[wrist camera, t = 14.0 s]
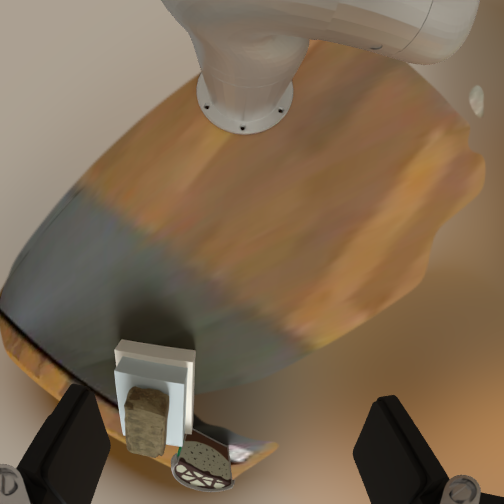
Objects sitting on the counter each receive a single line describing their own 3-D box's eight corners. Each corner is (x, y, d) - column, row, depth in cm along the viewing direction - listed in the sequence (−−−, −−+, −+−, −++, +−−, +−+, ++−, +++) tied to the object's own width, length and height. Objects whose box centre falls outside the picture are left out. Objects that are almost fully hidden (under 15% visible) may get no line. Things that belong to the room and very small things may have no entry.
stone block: (133, 432, 39) (126, 453, 34) (131, 380, 37) (120, 402, 32) (168, 440, 39) (163, 462, 35) (171, 389, 37) (165, 412, 32)
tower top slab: (122, 356, 40) (114, 370, 36) (187, 368, 41) (184, 384, 37) (128, 419, 43) (123, 435, 39) (185, 430, 44) (182, 446, 40)
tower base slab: (122, 337, 44) (114, 349, 40) (196, 348, 44) (193, 362, 41) (130, 409, 47) (124, 422, 43) (193, 419, 48) (191, 434, 44)
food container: (164, 436, 48) (155, 474, 38) (181, 421, 47) (174, 461, 38) (215, 462, 50) (214, 499, 41) (234, 449, 50) (235, 488, 40)
